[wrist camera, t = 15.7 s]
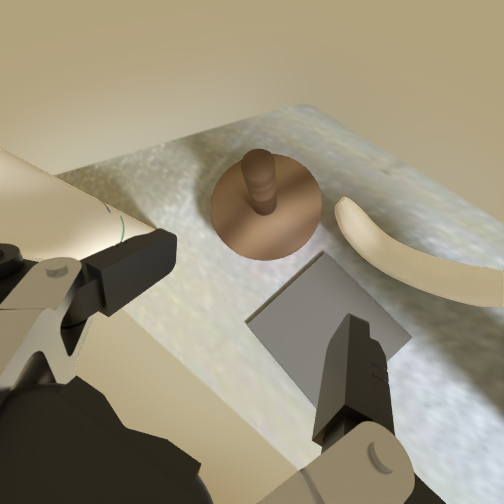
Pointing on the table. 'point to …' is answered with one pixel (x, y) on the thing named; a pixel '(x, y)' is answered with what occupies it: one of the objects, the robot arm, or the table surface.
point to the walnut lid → (266, 206)
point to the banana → (418, 262)
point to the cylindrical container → (56, 215)
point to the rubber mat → (320, 322)
